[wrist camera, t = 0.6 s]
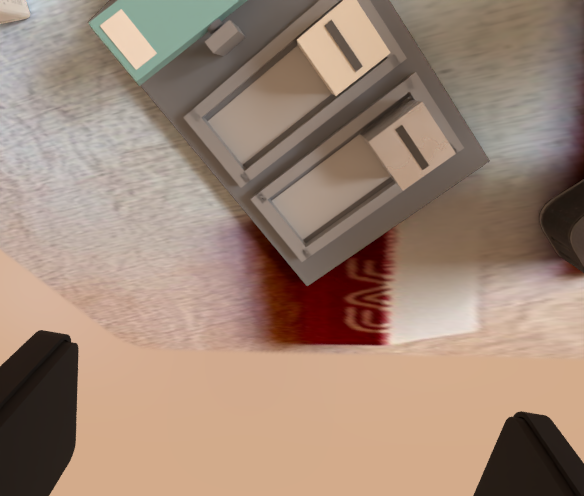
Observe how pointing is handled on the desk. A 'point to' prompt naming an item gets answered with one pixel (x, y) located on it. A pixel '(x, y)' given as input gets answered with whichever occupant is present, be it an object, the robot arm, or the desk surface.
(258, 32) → the panel
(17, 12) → the ink box
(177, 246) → the desk surface
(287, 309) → the desk surface
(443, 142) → the beige block
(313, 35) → the ivory knob
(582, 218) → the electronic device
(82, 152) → the desk surface
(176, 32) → the teal rocker
